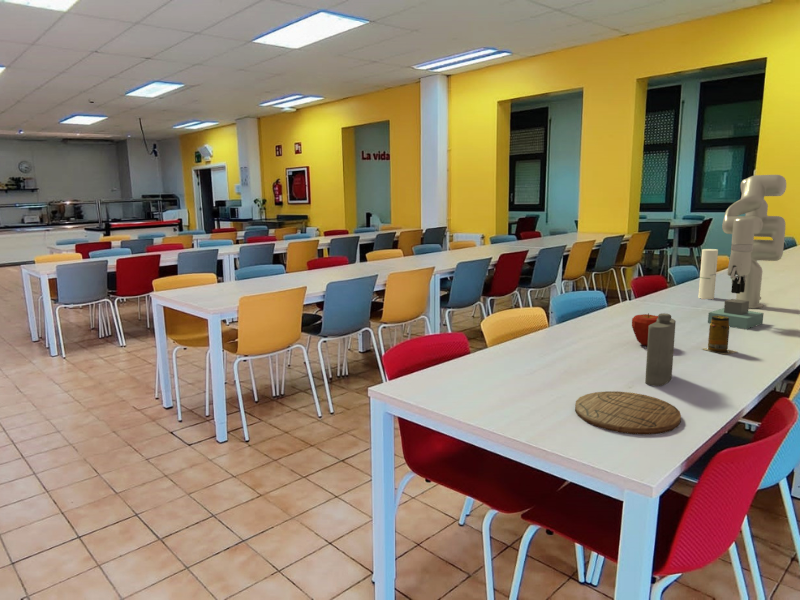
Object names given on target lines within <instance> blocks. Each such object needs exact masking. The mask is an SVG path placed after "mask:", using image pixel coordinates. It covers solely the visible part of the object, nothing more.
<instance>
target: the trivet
mask: <svg viewBox="0 0 800 600" xmlns="http://www.w3.org/2000/svg"><path fill="white" fill-rule="evenodd" d="M574 405H575V406H574V408H575V409H574V412H575V414H576V415H577V417H579V418H580V419H581V420H582V421H584V422H585V423H588V424H590V425H592V426H594V427H597V428H599V429H603V430H606V431H610V432H616V433H619V434H620V433H621V434H628V435H641V436H643V435H648V436H649V435H650V436H651V435H660V434H664V433H668V432H672V431H674V430H675V429H678V428H679V426H680V424H681V423H682V422H681V420H682V415H681V412H680V410H679V409H678V408H677V407H676V406H675V405H673V404H671V403H670V402H668V401H665V400H663V399H660V398H657V397H655V396H650V395H646V394H641V393H637V392H636V393H635V392H631V391H629V392H628V391H618V390H617V391H615V390H613V391H606V390H605V391H597V392H591V393H587V394H583V395H582V396H579V397H578V398H577V399H576V401H575V404H574Z"/></svg>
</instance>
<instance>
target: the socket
mask: <svg viewBox="0 0 800 600" xmlns="http://www.w3.org/2000/svg"><path fill="white" fill-rule="evenodd" d="M707 316H708V317H707V324H711V323H712V322H711V321H712V317H713V316H725V317H728V318H729V326H731V327H730V328H735V327H737V328H736V329H741V328H744V329H743V330H748V329H747V328H749V329H751V328H754V327H757V326H759V324H760V325H762V323H764V312H759V311H752V310H748V313H746V314H743V315H736V314H730V313H724V307H723V308H720V309H716V310H712V311H709V312H708V315H707ZM756 325H757V326H756ZM753 326H754V327H753ZM750 327H751V328H750Z"/></svg>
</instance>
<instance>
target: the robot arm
mask: <svg viewBox="0 0 800 600" xmlns="http://www.w3.org/2000/svg"><path fill="white" fill-rule="evenodd" d="M786 191H787V180H786V178H785V177H784V176H783V175H781V174H757V175H751V176H749V177H747V178H745V179H742V181H741V182H740V192H741V197H740V199H739V200H737V201H735V202H733V203H732V204H731V205H729V206H728V208H727V209H726V210H725V212H724V217H723V219H722V225H721V226H722V227H721V228H722V231H723V232H724V233H725V234H727V235H731V248H730V256H729V259H728V260H729V262H728V266H727V275H728V276H730V280H731V293H732V294H736V296H735V297H736V298H735V299H737V300H745V301H749V308H748V309H762V308H763V307H764V304H763V303H760V301H761V300H762V296H761V292H762V291H761V290H762V280H763V268H762V266H761V265H760V263H758V261H766V262H778V261H779V260H781V259H782V257H783V256H784V248H785V247H784V246H785V236H786V235H785V234H786V221H785V220H786V219H785V218H784V217H783V216H780V215H768V207H769V205H768V203H767V201H766V200H765V197H781V196H783V195H784V194H785V192H786ZM744 214H745V215H744ZM755 237H756V238H757V237H759V238H761V237H762V238H764V237H765V238H766V237H767V238H771V239H754V238H755Z"/></svg>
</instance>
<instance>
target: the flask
mask: <svg viewBox="0 0 800 600" xmlns="http://www.w3.org/2000/svg"><path fill="white" fill-rule="evenodd" d="M657 316H658V318H657V321H656V322H655V323H653V324H650V325H649V329H648V345H646V346H647V347H646V349H647V350H646V364H645V366H646V367H645V380H644V381H645V384H646V385H648V386H652V387H662V386H665V385H666V384H668V383H669V382H671V380H672V378H673V363H674V352H675V350H674V349H675V338H676V337H675V335H676V322H677V321H676V320H675V319H674V318H672V315H671V314H669V313H666V312H664V313H659V314H658V315H657Z"/></svg>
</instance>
